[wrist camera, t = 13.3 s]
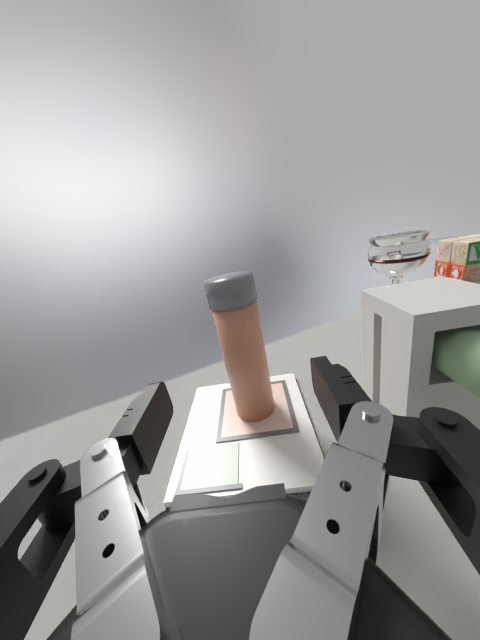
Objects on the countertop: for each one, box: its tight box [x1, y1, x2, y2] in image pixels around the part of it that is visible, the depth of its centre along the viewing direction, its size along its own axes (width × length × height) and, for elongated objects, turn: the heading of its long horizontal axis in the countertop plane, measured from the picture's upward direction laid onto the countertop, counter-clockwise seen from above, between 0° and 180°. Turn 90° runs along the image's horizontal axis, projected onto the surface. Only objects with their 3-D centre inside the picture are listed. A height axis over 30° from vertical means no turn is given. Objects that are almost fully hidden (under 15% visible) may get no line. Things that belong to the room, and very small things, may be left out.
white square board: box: [163, 373, 324, 508], centre depth 20 cm, size 11×12×1 cm
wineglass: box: [368, 230, 432, 284], centre depth 31 cm, size 7×7×12 cm
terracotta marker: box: [203, 271, 275, 422], centre depth 19 cm, size 4×4×12 cm
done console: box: [361, 276, 480, 430], centre depth 17 cm, size 6×6×10 cm
